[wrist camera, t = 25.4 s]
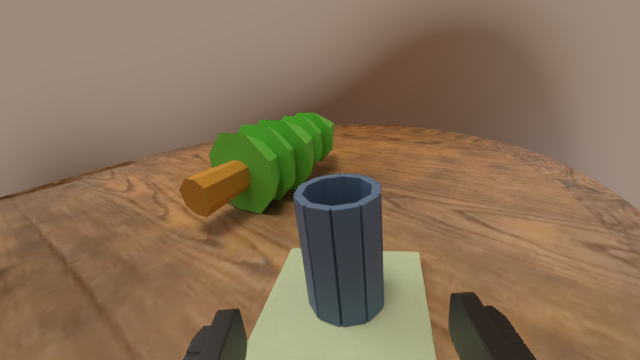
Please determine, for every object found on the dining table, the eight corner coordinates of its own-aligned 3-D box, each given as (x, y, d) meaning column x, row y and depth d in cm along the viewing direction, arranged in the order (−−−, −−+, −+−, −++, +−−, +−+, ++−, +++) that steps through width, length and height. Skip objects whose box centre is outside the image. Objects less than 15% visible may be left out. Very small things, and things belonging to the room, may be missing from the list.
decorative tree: (158, 130, 32) (315, 82, 54) (167, 211, 38) (304, 138, 61) (237, 181, 28) (372, 107, 50) (232, 261, 34) (353, 164, 57)
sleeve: (301, 324, 21) (283, 210, 18) (318, 270, 27) (306, 173, 23) (383, 331, 20) (380, 210, 17) (384, 272, 25) (381, 171, 22)
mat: (240, 366, 20) (238, 359, 19) (292, 252, 30) (291, 247, 30) (440, 390, 17) (440, 383, 17) (419, 257, 28) (419, 251, 28)
